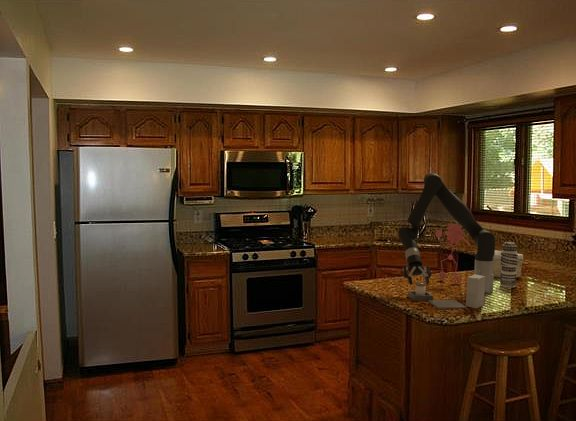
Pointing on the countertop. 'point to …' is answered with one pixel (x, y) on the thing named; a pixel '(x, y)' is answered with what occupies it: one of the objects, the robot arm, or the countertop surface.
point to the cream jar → (420, 288)
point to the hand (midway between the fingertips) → (419, 283)
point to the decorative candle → (508, 265)
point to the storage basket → (498, 267)
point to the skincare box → (475, 291)
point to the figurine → (453, 236)
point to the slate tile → (446, 304)
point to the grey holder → (420, 296)
